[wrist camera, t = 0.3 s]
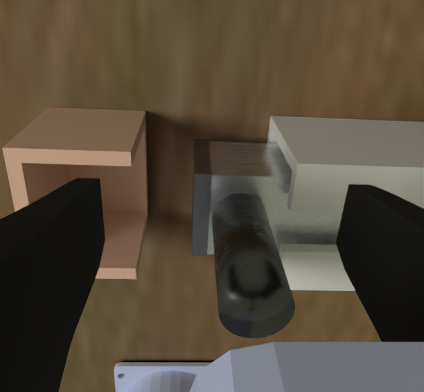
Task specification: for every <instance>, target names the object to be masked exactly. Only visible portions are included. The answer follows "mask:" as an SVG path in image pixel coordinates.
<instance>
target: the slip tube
mask: <svg viewBox="0 0 424 392" xmlns="http://www.w3.org/2000/svg"><path fill="white" fill-rule="evenodd" d="M291 177H292V170H291V168H290V166H289V164H288V162H287V160H286V158H285V156H284V154H283V152H282V151H281V149H280V147H279V145H278V144H273V143H245V142H216V141H209V140H197V139H194V168H193V197H192V255H201V256H207V254H214V258H215V271H216V284H217V297H218V310H219V318H220V320H221V322H222V324H223V325H224V327H225V328H226V329H227V330H229V331H230V332H231V333H233V334H235V335H238V336H241V337H246V338H261V337H266V336H269V335H272V334H274V333H277V332H278V331H280V330H281V329H283V328H284V327H285V326H286V325H287V324H288V323H289V322H290V320H291V319H292V317H293V314H294V311H295V303H294V299H293V296H292V293H291V290H290V286H289V283H288V280H287V277H286V274H285V271H284V267H283V264H282V261H281V258H280V255H279V252H280V246H281V244H322V245H336V240H337V235H338V231H339V226H340V221H341V217H342V213H340V212H300V211H290V210H289V207H288V205H287V202H288V196H289V189H290V183H291Z"/></svg>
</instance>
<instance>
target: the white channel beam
mask: <svg viewBox="0 0 424 392" xmlns="http://www.w3.org/2000/svg"><path fill="white" fill-rule="evenodd" d="M267 143H273V144H278V145H279V147H280V149H281V151H282V152H283V154H284V156H285V158H286V160H287V162H288V164H289V166H290V168H291V170H292V177H291V183H290V189H289V196H288V202H287V205H288V207H289V210H290V211H300V212H340V213H342V212H343V208H344V203H345V199H346V194H347V190H348V185H349V184H364V185H372V186H376V187H378V188H381V189H383V190H386V191H388V192H390V193H392V194H394V195H397V196H399V197H401V198H403V199H405V200H407V201H409V202H411V203H413V204H415V205H417V206H419V207H422V208H424V122H414V121H389V120H364V119H339V118H313V117H288V116H271V117H270V125H269V133H268V142H267ZM279 255H280V258H281V261H282V264H283V267H284V271H285V274H286V277H287V280H288V283H289V286H290V290H337V291H355V289H354V287H353V285H352V283H351V281H350V279H349V277H348V275H347V273H346V271H345V269H344V266H343V263H342V261H341V258H340V255H339V251H338V248H337V245H322V244H281V246H280V252H279Z"/></svg>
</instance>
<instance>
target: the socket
mask: <svg viewBox="0 0 424 392" xmlns="http://www.w3.org/2000/svg"><path fill="white" fill-rule="evenodd" d="M3 153H4V158H5V163H6V168H7V173H8V178H9V183H10V188H11V193H12V198H13V203H14V208H15V212H16V211H18V210H20V209H21V208H23V207H25V206H27V205H29V204H31V203H33V202H35V201H37V200H38V199H40V198H42V197H43V196H45V195H47V194H49V193H50V192H52V191H54V190H56V189H57V188H59V187H61V186H63V185H64V184H66V183H68V182H70V181H72V180H74V179H76V178H100V185H101V196H102V207H103V219H104V230H105V243H104V248H103V253H102V257H101V262H100V266H99V269H98V272H97V275H96V277H95V278H103V279H136V278H137V272H138V267H139V262H140V257H141V251H142V246H143V241H144V236H145V231H146V225H147V220H148V185H147V144H146V111H137V110H111V109H86V108H61V107H48V108H47V109H46V110H45V111H44V112H43V113H41V114H40V115H39V116H38V117H37V118H36V119H35V120H33V121H32V122H31V123H30V124H29V125H28V126H27V127H26V128H24V129H23V130H22V131H21V132H20V133H19V134H18V135H16V136H15V137H14V138H13V139H12V140H11V141H10V142H8V143H7V144H6V145H5V146H4V147H3Z"/></svg>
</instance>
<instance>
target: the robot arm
mask: <svg viewBox="0 0 424 392" xmlns="http://www.w3.org/2000/svg"><path fill="white" fill-rule="evenodd" d="M104 243H105V230H104V219H103V207H102V196H101V185H100V178H76V179H74V180H72V181H70V182H68V183H66V184H64V185H63V186H61V187H59V188H57V189H56V190H54V191H52V192H50V193H49V194H47V195H45V196H43V197H42V198H40V199H38V200H37V201H35V202H33V203H31V204H29V205H27V206H25V207H23V208H21V209H20V210H18V211H16V212H14V213H12V214H10V215H8V216H6V217H4V218H2V219H0V392H58V391H59V387H60V383H61V379H62V375H63V371H64V367H65V363H66V359H67V356H68V352H69V348H70V344H71V341H72V338H73V335H74V332H75V329H76V327H77V324H78V322H79V319H80V317H81V314H82V311H83V309H84V306H85V304H86V301H87V298H88V296H89V293H90V291H91V288H92V285H93V283H94V280H95V277H96V275H97V272H98V269H99V266H100V262H101V257H102V253H103V248H104ZM336 245H337V248H338V251H339V255H340V258H341V261H342V263H343V266H344V269H345V271H346V273H347V275H348V277H349V279H350V281H351V283H352V285H353V287H354V289H355V291H356V293H357V295H358V297H359V298H360V300H361V302H362V304H363V306H364V308H365V310H366V312H367V314H368V315H369V317H370V319H371V321H372V323H373V325H374V327H375V329H376V331H377V333H378V335H379V337H380V339H381V341H382V342H267V343H262V344H257V345H251V346H246V347H241V348H236V349H232V350H230V351H228V352H227V353H225V354H224V355H222V356H221V357H219V358H218V359H216V360H215V361H214V362H120V363H117V364H116V365H115V368H114V377H115V389H116V392H424V208H422V207H419V206H417V205H415V204H413V203H411V202H409V201H407V200H405V199H403V198H401V197H399V196H397V195H394V194H392V193H390V192H388V191H386V190H383V189H381V188H378V187H376V186H372V185H364V184H349V185H348V190H347V194H346V199H345V203H344V208H343V212H342V217H341V221H340V226H339V231H338V235H337V240H336Z"/></svg>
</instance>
